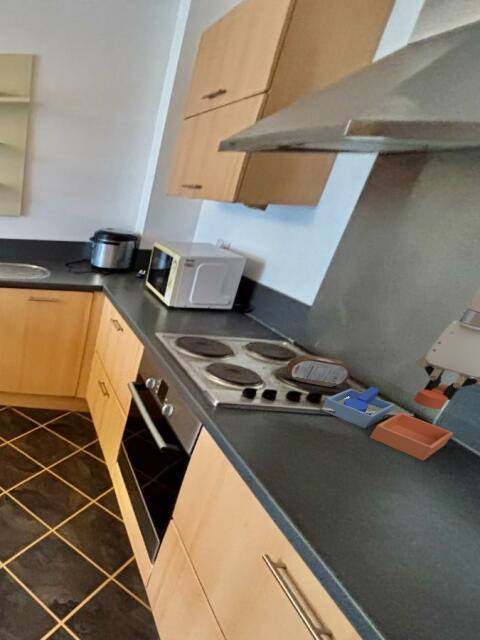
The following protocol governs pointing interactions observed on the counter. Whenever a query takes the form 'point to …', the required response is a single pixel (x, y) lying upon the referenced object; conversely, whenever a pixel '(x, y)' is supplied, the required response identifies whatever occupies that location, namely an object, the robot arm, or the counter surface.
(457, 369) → the robot arm
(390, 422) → the terracotta bin
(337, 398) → the blue bin
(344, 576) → the counter surface
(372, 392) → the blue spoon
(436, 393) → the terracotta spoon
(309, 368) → the tin
